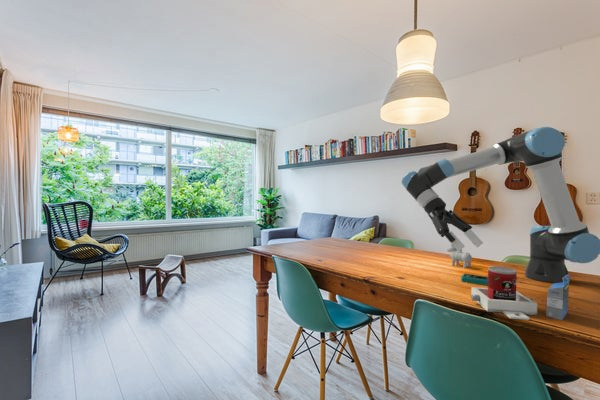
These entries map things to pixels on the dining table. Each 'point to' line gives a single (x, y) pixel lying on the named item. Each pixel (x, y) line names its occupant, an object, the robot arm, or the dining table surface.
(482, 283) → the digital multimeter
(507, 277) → the canned food
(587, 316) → the dining table surface
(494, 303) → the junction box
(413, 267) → the dining table surface
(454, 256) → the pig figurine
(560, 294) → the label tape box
